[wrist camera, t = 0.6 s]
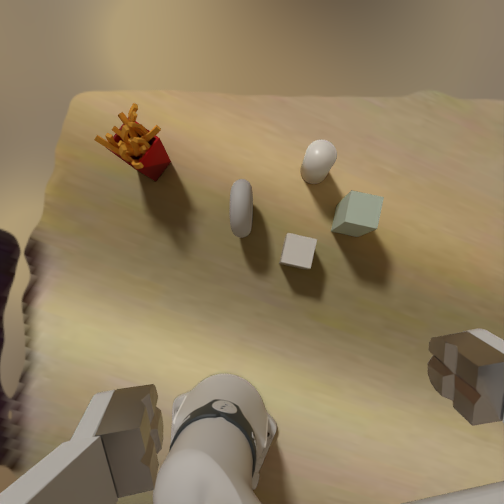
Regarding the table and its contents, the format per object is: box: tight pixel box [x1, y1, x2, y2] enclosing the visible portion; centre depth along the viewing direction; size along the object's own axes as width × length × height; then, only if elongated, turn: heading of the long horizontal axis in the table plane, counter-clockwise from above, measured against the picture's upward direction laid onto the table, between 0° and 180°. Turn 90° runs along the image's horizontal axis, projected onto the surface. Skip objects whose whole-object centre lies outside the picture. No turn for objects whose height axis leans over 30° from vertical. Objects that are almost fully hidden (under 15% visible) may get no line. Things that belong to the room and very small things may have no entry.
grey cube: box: [279, 233, 317, 270], centre depth 55 cm, size 5×5×6 cm
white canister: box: [300, 140, 337, 184], centre depth 55 cm, size 5×5×8 cm
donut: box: [230, 179, 253, 238], centre depth 54 cm, size 10×4×10 cm, turn 178°
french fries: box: [95, 104, 171, 181], centre depth 53 cm, size 9×8×15 cm
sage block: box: [331, 190, 384, 237], centre depth 53 cm, size 5×5×10 cm
